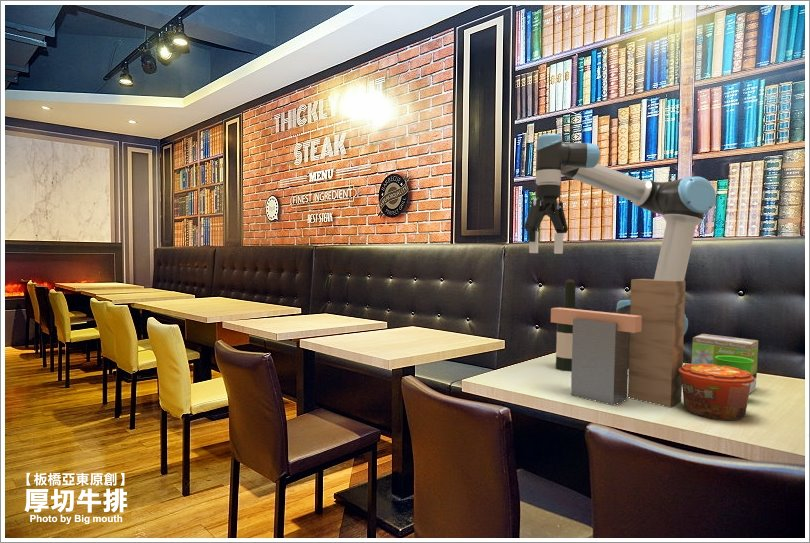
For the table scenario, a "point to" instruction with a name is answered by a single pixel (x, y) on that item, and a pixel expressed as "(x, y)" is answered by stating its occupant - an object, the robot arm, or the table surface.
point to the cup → (735, 362)
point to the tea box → (724, 350)
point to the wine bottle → (565, 332)
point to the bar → (597, 318)
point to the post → (657, 341)
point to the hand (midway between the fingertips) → (546, 253)
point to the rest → (599, 361)
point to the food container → (715, 391)
